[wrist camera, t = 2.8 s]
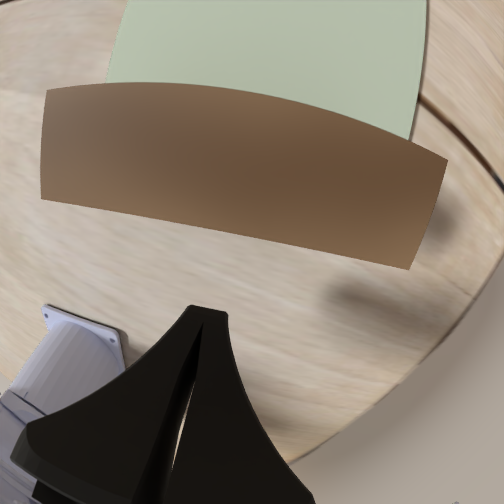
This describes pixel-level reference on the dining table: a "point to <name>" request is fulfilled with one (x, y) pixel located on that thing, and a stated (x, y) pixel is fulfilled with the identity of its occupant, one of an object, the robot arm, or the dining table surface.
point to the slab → (240, 167)
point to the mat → (283, 51)
